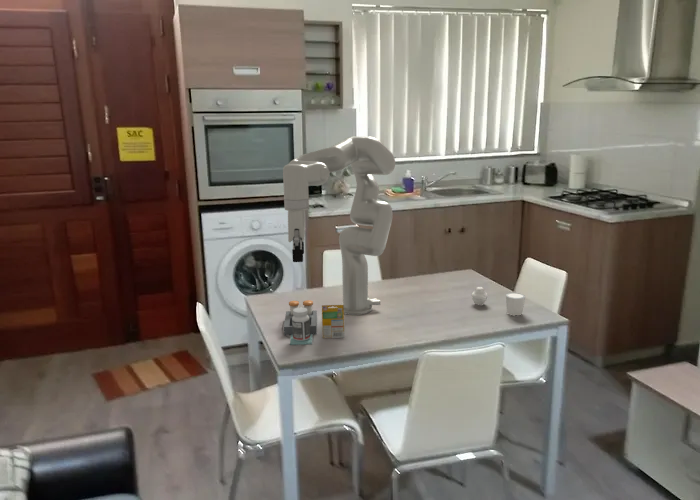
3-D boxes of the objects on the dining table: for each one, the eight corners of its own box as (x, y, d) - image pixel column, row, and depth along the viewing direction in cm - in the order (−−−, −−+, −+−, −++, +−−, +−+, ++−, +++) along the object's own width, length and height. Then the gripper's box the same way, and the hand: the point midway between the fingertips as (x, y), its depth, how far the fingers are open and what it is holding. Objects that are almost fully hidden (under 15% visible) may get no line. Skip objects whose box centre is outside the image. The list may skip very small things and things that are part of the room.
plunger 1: (299, 317, 202) (299, 300, 201) (299, 321, 199) (298, 304, 197) (289, 318, 202) (289, 300, 200) (289, 321, 199) (288, 304, 197)
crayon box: (344, 334, 188) (343, 301, 186) (344, 338, 186) (344, 304, 183) (322, 335, 188) (321, 302, 185) (322, 338, 185) (321, 305, 182)
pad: (312, 335, 188) (312, 334, 188) (311, 344, 181) (311, 342, 181) (291, 336, 187) (291, 334, 187) (290, 344, 181) (290, 343, 180)
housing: (317, 318, 203) (316, 310, 203) (316, 334, 189) (316, 326, 188) (286, 319, 203) (286, 311, 202) (283, 335, 188) (283, 327, 188)
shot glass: (525, 311, 207) (526, 293, 206) (522, 317, 201) (524, 299, 200) (506, 309, 210) (507, 291, 208) (503, 315, 204) (504, 297, 202)
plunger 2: (313, 317, 202) (313, 300, 201) (313, 321, 199) (312, 303, 197) (303, 317, 202) (303, 300, 201) (303, 321, 199) (302, 303, 197)
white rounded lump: (469, 305, 214) (470, 288, 213) (472, 300, 220) (473, 283, 218) (486, 307, 212) (487, 290, 210) (488, 302, 217) (489, 285, 216)
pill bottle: (306, 333, 188) (305, 305, 185) (312, 339, 183) (311, 310, 180) (290, 336, 186) (289, 308, 183) (296, 342, 181) (295, 314, 178)
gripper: (286, 200, 181) (288, 251, 186) (282, 209, 165) (285, 265, 169) (309, 199, 182) (310, 250, 186) (308, 209, 165) (310, 264, 169)
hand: (298, 257), depth 177 cm, fingers open, 9 cm apart
